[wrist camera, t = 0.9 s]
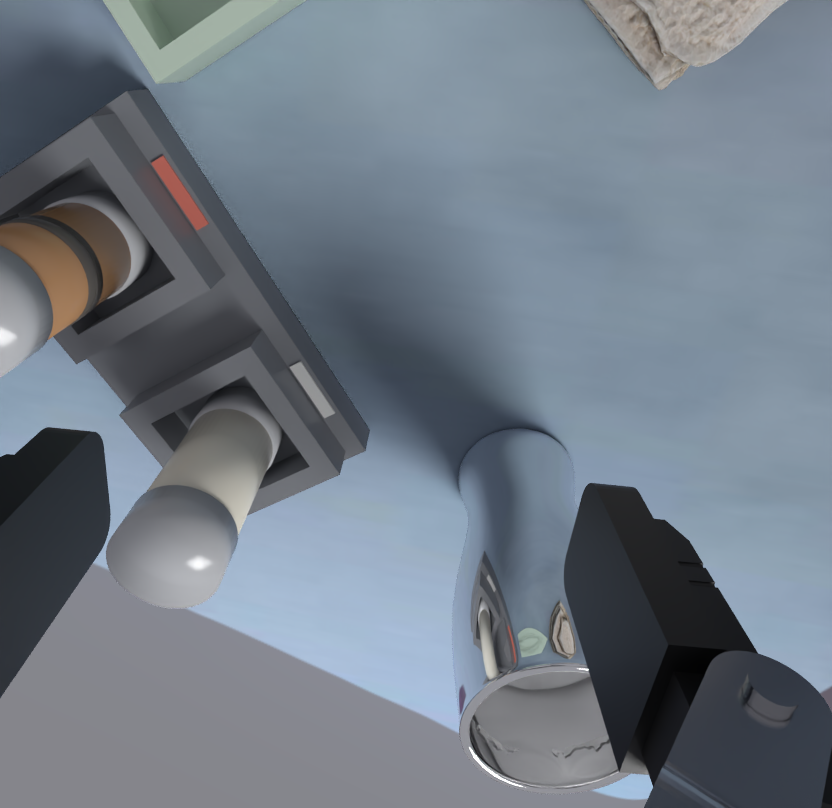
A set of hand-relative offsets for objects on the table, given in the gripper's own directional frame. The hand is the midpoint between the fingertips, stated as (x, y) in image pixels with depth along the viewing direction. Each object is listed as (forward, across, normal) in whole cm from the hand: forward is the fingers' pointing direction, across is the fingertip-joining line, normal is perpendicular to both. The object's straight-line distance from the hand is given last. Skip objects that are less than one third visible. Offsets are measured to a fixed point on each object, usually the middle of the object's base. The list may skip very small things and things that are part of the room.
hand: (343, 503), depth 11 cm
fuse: (+19, +6, +9) cm, 22 cm away
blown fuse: (+19, +12, +1) cm, 22 cm away
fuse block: (+21, +9, +5) cm, 23 cm away
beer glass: (+21, -8, +11) cm, 25 cm away
